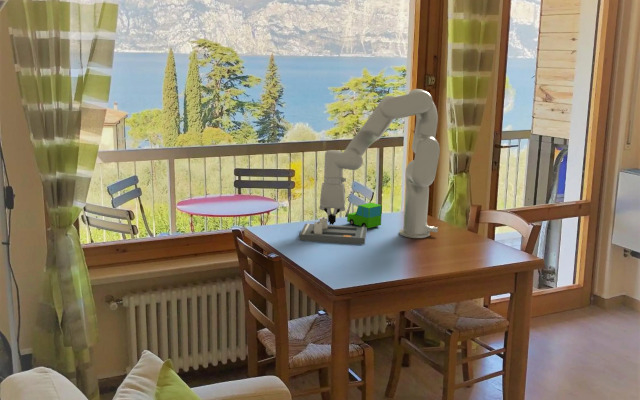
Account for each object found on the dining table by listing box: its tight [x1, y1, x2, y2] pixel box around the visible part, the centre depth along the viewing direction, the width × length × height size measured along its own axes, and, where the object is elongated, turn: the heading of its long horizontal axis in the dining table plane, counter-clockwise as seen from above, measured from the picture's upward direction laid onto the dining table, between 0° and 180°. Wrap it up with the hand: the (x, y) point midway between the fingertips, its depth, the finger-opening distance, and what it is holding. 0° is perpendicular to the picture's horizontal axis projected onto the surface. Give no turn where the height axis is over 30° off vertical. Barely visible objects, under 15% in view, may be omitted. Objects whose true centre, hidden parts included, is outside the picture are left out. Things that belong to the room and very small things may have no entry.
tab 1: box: [313, 221, 323, 234], centre depth 257 cm, size 3×3×5 cm
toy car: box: [346, 202, 383, 230], centre depth 277 cm, size 10×13×10 cm
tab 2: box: [318, 216, 328, 229], centre depth 264 cm, size 3×3×5 cm
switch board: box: [298, 222, 368, 245], centre depth 261 cm, size 26×16×3 cm, turn 83°
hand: (331, 223), depth 264 cm, fingers closed
